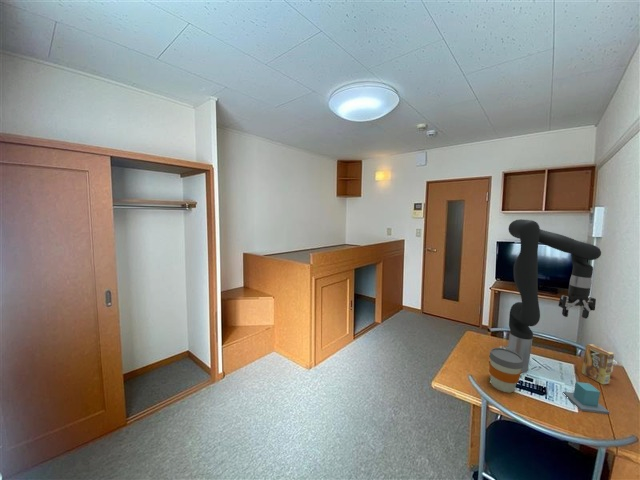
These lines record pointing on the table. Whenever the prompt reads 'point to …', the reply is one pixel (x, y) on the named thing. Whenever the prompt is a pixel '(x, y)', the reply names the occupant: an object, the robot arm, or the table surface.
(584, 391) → the teal block
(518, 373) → the reusable coffee cup
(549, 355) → the table surface
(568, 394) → the gray base with block
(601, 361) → the candy box
